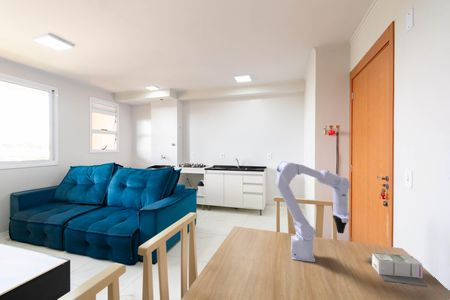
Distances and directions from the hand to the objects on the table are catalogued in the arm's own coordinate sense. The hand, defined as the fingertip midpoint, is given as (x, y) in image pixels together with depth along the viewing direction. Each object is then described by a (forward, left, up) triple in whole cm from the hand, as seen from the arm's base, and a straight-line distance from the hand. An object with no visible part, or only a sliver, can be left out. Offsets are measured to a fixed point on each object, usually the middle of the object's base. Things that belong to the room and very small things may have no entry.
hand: (340, 232), depth 94 cm
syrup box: (+10, -10, -7) cm, 16 cm away
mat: (+17, -8, -10) cm, 21 cm away
